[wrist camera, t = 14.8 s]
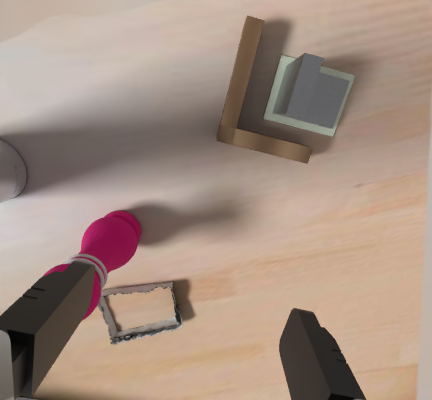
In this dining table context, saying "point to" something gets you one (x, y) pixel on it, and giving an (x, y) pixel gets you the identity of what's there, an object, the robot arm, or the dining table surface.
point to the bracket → (310, 92)
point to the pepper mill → (106, 249)
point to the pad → (293, 122)
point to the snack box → (22, 399)
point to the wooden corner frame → (236, 97)
